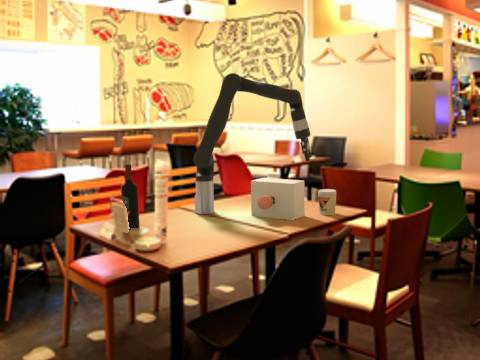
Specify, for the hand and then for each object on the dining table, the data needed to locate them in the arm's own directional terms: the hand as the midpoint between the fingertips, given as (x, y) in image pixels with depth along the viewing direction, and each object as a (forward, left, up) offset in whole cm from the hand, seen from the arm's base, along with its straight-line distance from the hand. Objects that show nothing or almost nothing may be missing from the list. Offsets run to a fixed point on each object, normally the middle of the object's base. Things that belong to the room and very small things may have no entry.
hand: (308, 159), depth 282 cm
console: (-16, +5, -28) cm, 33 cm away
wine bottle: (-84, +32, -28) cm, 95 cm away
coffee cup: (+6, -8, -28) cm, 30 cm away
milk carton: (-6, +20, -28) cm, 35 cm away
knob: (-25, +2, -22) cm, 34 cm away
